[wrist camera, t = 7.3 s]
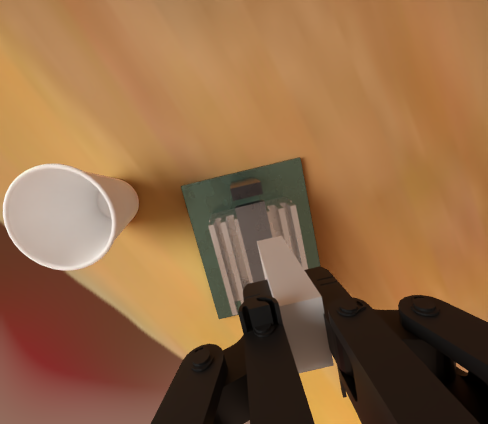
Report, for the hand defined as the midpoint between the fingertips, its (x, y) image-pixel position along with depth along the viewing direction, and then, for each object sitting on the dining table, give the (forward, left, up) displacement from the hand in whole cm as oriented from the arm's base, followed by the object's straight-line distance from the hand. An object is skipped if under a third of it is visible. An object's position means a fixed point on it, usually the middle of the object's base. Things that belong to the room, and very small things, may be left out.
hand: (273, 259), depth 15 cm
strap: (+6, 0, -12) cm, 13 cm away
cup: (-5, -17, -20) cm, 27 cm away
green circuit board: (+5, 0, -20) cm, 20 cm away
